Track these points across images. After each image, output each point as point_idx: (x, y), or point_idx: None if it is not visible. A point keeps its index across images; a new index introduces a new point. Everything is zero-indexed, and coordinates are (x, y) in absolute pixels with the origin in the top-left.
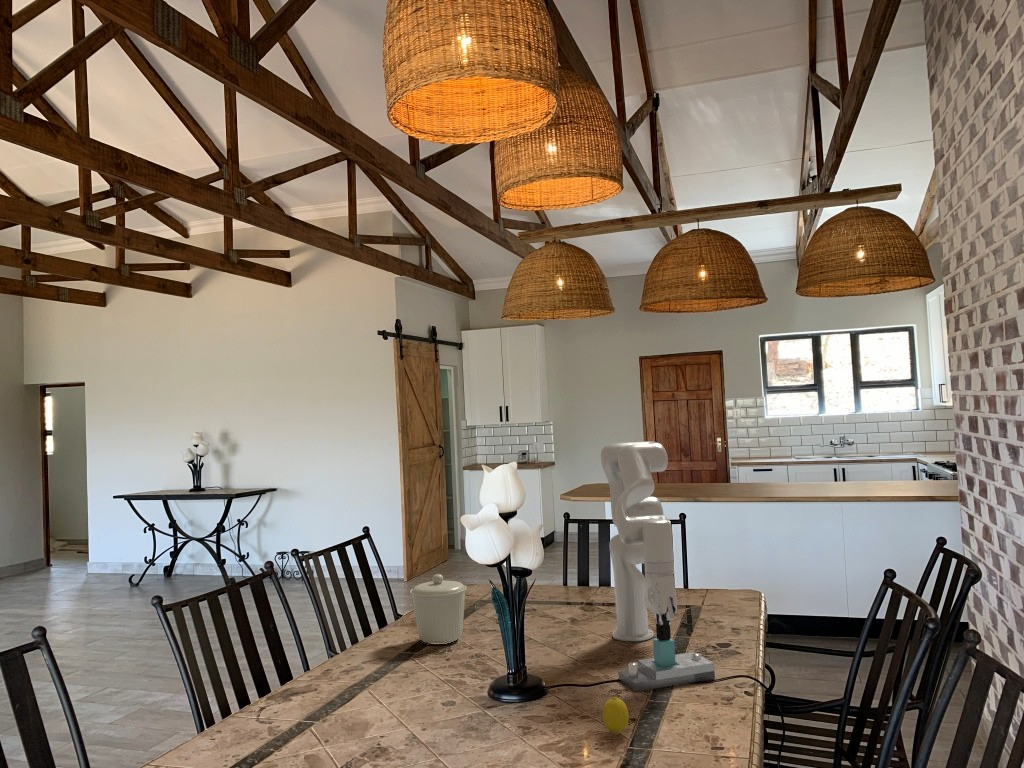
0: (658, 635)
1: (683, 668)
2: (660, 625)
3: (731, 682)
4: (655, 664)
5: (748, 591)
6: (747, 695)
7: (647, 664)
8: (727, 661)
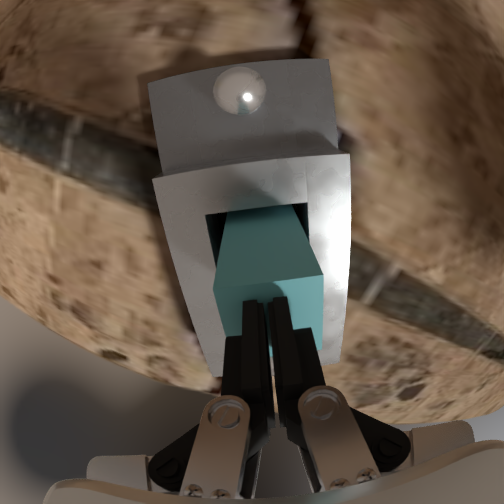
0: (257, 317)
1: (183, 293)
2: (244, 394)
3: (182, 359)
4: (286, 214)
5: (500, 407)
6: (101, 349)
7: (269, 172)
8: None
